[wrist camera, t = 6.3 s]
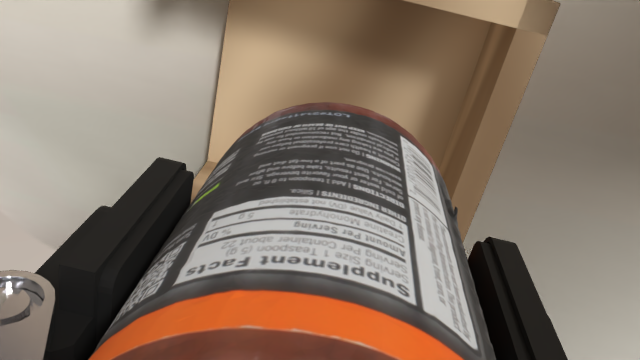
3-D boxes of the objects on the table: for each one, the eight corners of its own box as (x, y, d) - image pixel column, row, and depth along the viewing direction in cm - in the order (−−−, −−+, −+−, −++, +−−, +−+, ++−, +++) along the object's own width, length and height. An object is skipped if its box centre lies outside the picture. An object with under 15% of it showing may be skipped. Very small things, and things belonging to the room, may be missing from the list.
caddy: (528, -11, 20) (560, 3, 17) (436, 231, 25) (446, 282, 21) (243, -82, 20) (214, -82, 16) (208, 175, 25) (179, 218, 21)
